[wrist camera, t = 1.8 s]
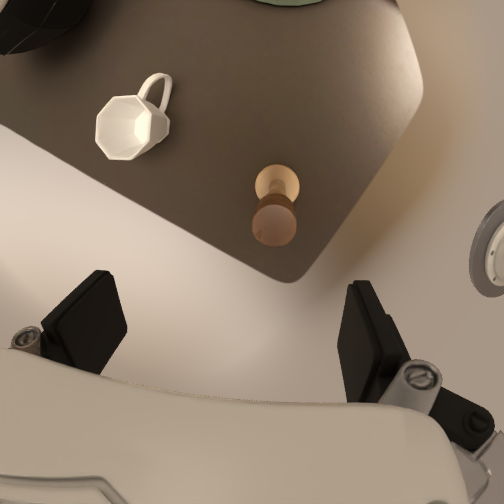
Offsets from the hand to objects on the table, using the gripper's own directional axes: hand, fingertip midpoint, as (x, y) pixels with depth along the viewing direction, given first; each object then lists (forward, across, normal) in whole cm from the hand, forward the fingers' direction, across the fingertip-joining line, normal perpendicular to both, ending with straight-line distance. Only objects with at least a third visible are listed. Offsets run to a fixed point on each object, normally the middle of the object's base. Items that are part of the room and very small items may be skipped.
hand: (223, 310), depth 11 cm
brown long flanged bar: (+24, -2, 0) cm, 25 cm away
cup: (+25, +12, -9) cm, 29 cm away
